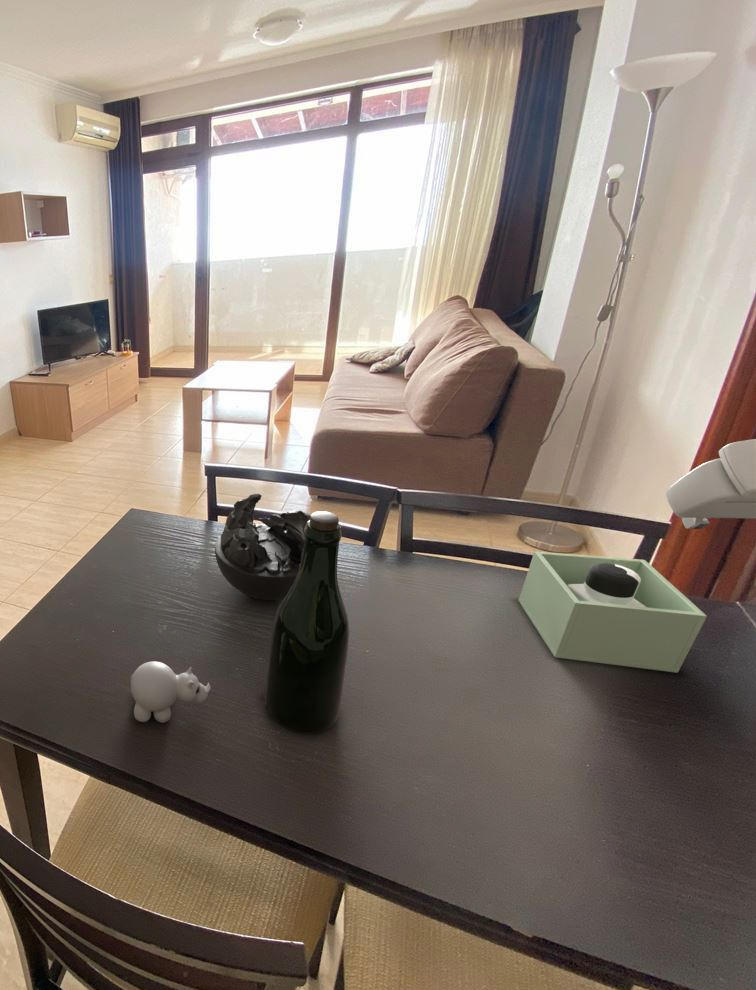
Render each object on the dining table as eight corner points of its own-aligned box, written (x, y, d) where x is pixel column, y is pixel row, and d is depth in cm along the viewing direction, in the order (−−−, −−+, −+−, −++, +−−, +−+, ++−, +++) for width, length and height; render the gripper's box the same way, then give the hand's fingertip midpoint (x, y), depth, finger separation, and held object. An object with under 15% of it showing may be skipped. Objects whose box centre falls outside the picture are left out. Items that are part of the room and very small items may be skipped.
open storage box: (622, 611, 95) (644, 559, 91) (678, 673, 82) (707, 616, 78) (518, 600, 100) (534, 551, 96) (554, 657, 87) (575, 603, 82)
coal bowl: (320, 628, 97) (332, 538, 89) (208, 614, 103) (210, 528, 95) (314, 569, 114) (324, 489, 106) (218, 560, 120) (220, 483, 112)
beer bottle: (350, 706, 81) (385, 512, 67) (317, 749, 75) (348, 545, 61) (285, 673, 88) (305, 491, 74) (251, 709, 82) (265, 518, 68)
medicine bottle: (586, 644, 88) (610, 583, 83) (554, 617, 94) (575, 558, 89) (633, 643, 87) (660, 581, 82) (597, 615, 94) (621, 557, 89)
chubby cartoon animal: (211, 731, 79) (213, 688, 75) (130, 727, 81) (127, 684, 77) (208, 694, 85) (209, 653, 82) (133, 691, 87) (130, 650, 83)
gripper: (950, 439, 57) (826, 504, 68) (709, 443, 62) (632, 502, 73) (991, 490, 54) (854, 549, 65) (734, 490, 59) (649, 544, 70)
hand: (735, 524), depth 69 cm, fingers open, 8 cm apart
